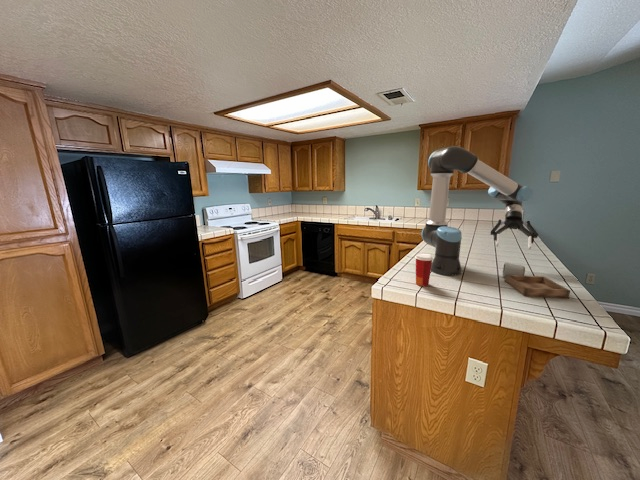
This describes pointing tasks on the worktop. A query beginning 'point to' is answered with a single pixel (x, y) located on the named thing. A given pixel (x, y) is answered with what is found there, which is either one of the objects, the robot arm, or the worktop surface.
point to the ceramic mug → (513, 269)
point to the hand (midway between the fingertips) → (513, 246)
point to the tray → (537, 286)
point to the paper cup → (423, 269)
